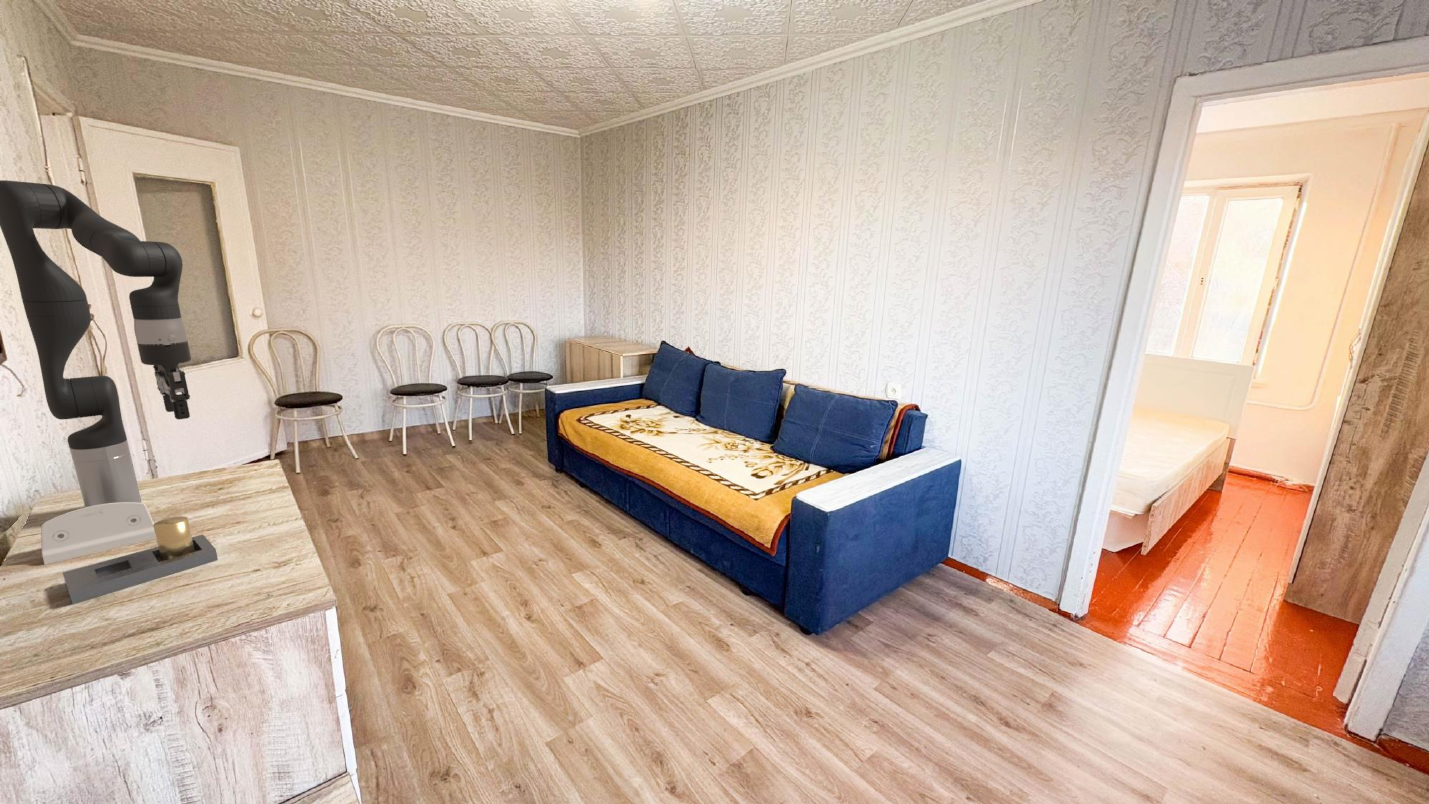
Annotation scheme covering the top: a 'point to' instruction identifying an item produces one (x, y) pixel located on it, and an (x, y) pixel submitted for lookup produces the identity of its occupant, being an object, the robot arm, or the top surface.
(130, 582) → the grey flat block
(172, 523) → the cylinder
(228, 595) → the top surface
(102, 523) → the grey curved housing
